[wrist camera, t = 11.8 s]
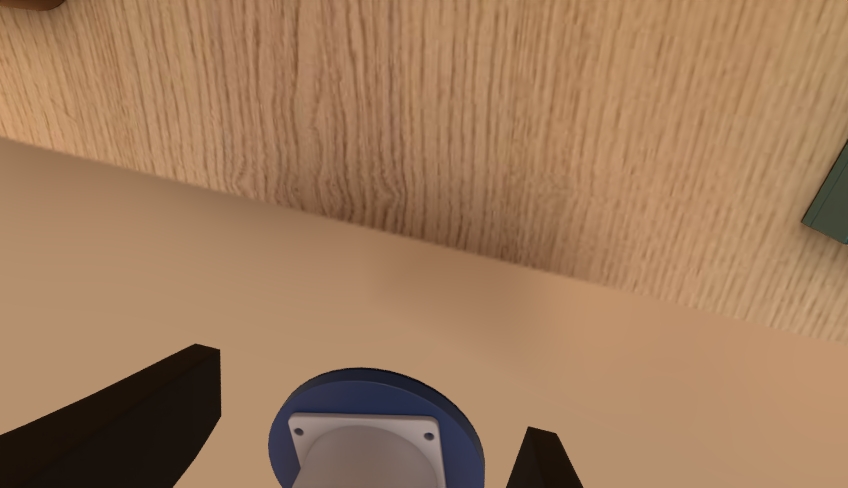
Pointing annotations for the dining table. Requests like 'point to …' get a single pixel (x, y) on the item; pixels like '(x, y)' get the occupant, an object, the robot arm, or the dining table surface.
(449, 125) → the dining table surface
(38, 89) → the dining table surface
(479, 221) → the dining table surface
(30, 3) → the stand
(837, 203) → the teal square tray
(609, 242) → the dining table surface
